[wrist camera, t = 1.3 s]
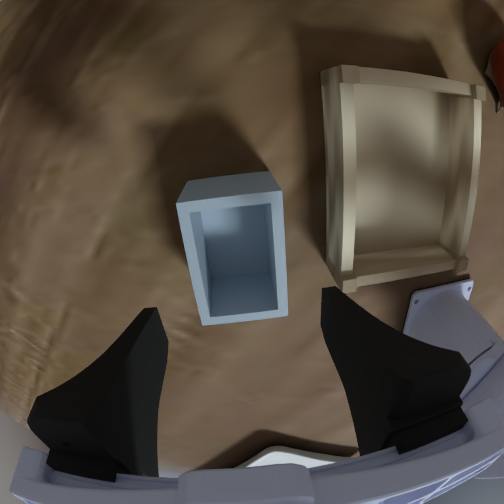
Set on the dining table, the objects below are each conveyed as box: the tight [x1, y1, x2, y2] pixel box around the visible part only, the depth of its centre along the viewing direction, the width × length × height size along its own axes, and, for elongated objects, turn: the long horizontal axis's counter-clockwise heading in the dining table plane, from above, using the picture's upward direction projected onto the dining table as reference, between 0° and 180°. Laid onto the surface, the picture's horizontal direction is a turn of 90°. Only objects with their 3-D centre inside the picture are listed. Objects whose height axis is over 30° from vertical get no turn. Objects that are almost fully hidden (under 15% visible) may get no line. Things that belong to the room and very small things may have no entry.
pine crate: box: [320, 65, 486, 293], centre depth 18 cm, size 14×11×4 cm
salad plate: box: [235, 446, 352, 468], centre depth 40 cm, size 21×21×3 cm
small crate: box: [176, 171, 288, 326], centre depth 19 cm, size 8×5×5 cm
